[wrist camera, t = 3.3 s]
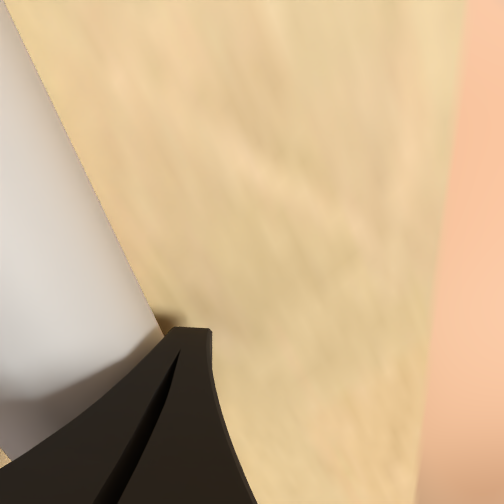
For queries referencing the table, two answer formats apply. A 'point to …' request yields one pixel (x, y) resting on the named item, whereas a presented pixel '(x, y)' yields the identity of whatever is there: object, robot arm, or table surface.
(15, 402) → the tube
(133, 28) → the table surface
